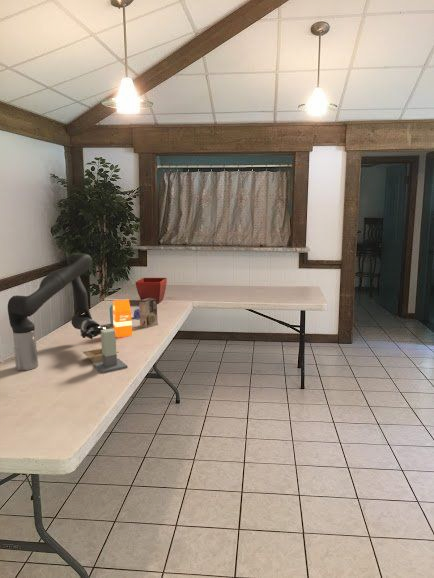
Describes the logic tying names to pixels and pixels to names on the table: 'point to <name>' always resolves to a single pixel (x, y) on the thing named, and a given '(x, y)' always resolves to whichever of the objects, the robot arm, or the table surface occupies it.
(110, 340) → the box
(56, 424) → the table surface
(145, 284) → the plant pot
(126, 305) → the orange juice
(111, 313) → the data package
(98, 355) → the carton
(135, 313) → the pudding
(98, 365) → the slate mat
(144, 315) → the coffee box
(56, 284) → the robot arm
